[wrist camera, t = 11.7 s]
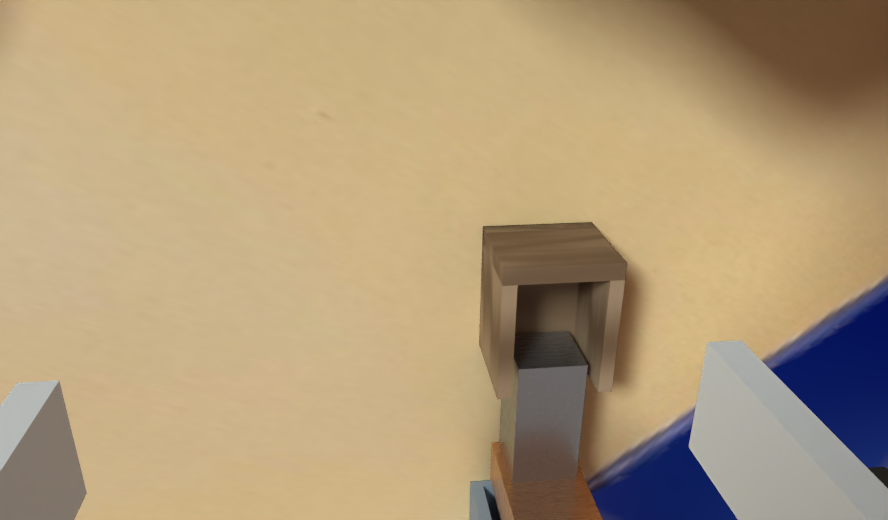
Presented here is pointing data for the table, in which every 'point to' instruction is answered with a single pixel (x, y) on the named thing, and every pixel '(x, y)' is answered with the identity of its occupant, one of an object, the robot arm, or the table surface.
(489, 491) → the grey rectangular block
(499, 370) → the sleeve
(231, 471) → the table surface
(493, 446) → the blue and tan block
